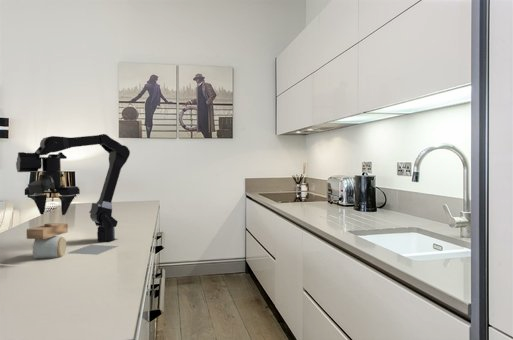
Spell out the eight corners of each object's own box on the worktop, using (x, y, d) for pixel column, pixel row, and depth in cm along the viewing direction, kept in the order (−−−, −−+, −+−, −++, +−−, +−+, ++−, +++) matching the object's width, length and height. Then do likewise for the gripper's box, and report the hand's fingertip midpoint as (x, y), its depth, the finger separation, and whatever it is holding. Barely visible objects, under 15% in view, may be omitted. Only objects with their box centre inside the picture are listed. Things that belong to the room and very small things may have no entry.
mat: (90, 246, 133) (90, 244, 133) (118, 247, 131) (118, 246, 131) (66, 254, 122) (66, 252, 122) (97, 256, 119) (97, 254, 119)
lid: (52, 231, 124) (52, 221, 123) (67, 232, 122) (67, 221, 122) (26, 238, 113) (26, 226, 113) (43, 239, 112) (42, 227, 112)
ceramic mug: (60, 260, 115) (59, 236, 115) (32, 262, 113) (31, 238, 113) (70, 252, 125) (70, 231, 125) (45, 254, 123) (44, 232, 123)
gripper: (10, 172, 121) (11, 217, 122) (56, 172, 117) (57, 218, 117) (37, 171, 132) (38, 213, 132) (80, 171, 128) (81, 214, 128)
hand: (52, 214), depth 127 cm, fingers open, 9 cm apart
